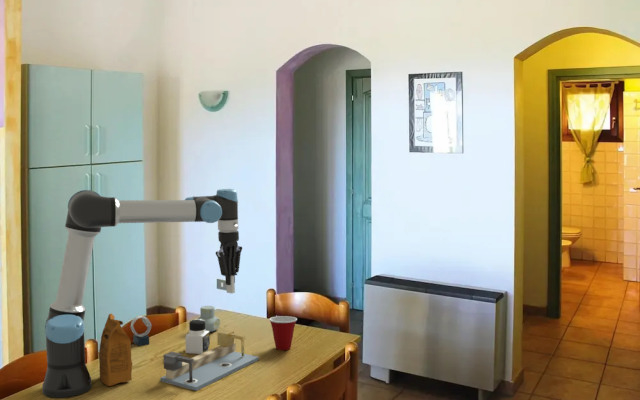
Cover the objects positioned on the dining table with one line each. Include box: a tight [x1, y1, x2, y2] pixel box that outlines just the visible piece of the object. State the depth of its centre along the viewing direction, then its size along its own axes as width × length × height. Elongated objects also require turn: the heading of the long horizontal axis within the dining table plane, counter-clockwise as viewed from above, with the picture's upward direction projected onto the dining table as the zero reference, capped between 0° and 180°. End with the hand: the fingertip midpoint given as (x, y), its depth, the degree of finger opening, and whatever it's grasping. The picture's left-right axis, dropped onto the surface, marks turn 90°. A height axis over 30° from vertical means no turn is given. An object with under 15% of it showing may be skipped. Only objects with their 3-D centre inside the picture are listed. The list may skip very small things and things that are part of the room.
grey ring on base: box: [130, 315, 153, 347], centre depth 267 cm, size 6×8×11 cm
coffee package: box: [98, 313, 133, 387], centre depth 228 cm, size 10×12×22 cm
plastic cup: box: [269, 315, 298, 351], centre depth 261 cm, size 11×11×12 cm
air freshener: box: [197, 305, 221, 333], centre depth 284 cm, size 11×8×10 cm
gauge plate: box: [160, 351, 260, 392], centre depth 238 cm, size 34×16×1 cm, turn 148°
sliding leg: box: [216, 329, 246, 356], centre depth 250 cm, size 4×11×8 cm, turn 58°
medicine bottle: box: [185, 318, 211, 355], centre depth 258 cm, size 7×7×12 cm
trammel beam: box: [163, 342, 237, 382], centre depth 239 cm, size 34×11×8 cm, turn 148°
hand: (230, 292), depth 253 cm, fingers closed
